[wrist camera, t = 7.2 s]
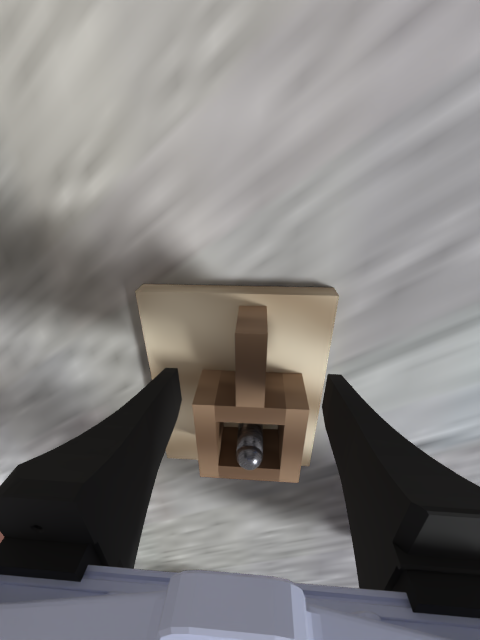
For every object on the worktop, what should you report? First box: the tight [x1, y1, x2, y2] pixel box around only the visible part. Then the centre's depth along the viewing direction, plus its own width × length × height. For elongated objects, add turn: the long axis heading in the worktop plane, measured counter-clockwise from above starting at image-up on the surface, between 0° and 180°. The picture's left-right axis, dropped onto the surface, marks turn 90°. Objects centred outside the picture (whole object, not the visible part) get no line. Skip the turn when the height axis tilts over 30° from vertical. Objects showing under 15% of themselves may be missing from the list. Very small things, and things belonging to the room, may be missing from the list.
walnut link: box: [192, 306, 309, 483], centre depth 16 cm, size 11×6×3 cm, turn 0°
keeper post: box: [236, 423, 263, 470], centre depth 17 cm, size 2×2×4 cm
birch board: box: [135, 284, 339, 466], centre depth 19 cm, size 14×11×1 cm
